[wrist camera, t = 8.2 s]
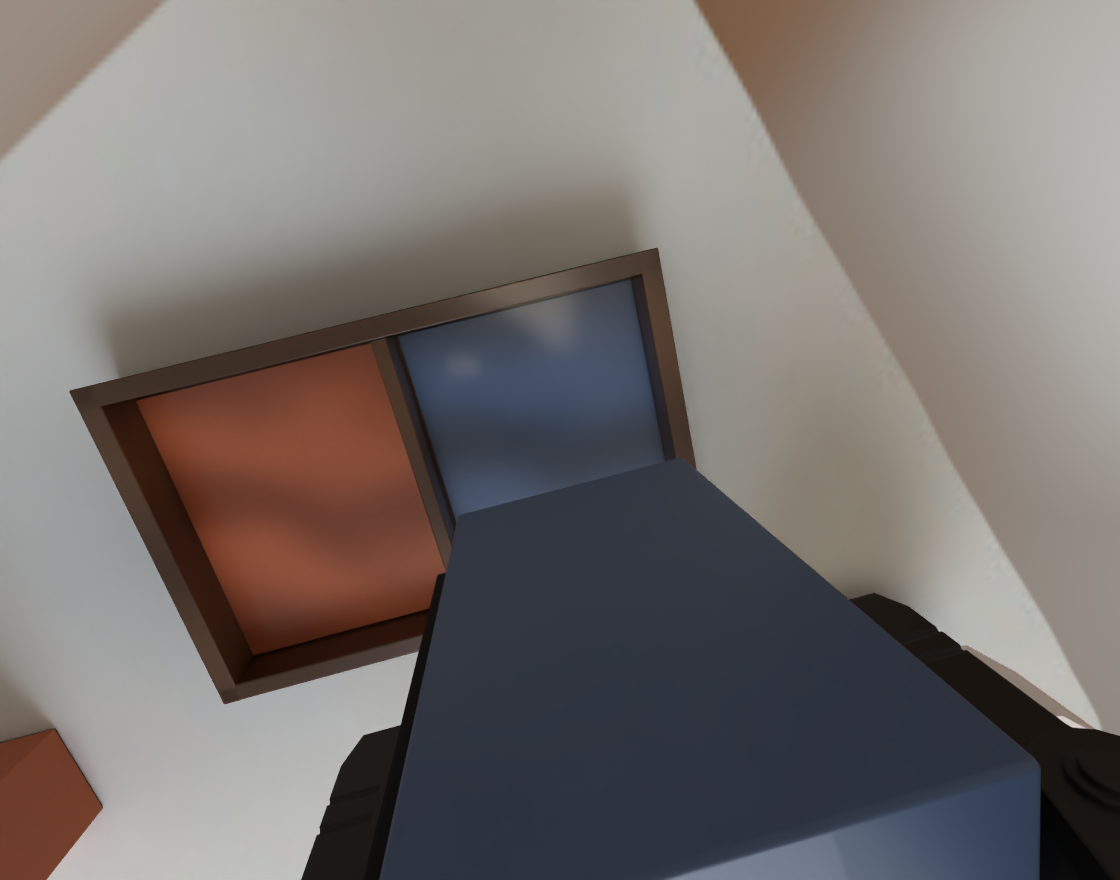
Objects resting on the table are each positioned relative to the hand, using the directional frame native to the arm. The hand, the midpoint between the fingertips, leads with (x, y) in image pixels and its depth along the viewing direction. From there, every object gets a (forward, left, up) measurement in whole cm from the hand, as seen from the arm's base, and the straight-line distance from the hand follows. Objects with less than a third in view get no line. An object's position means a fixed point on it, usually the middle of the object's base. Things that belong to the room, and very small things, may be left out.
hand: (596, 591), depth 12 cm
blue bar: (0, 0, 0) cm, 0 cm away
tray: (0, -5, -13) cm, 14 cm away
